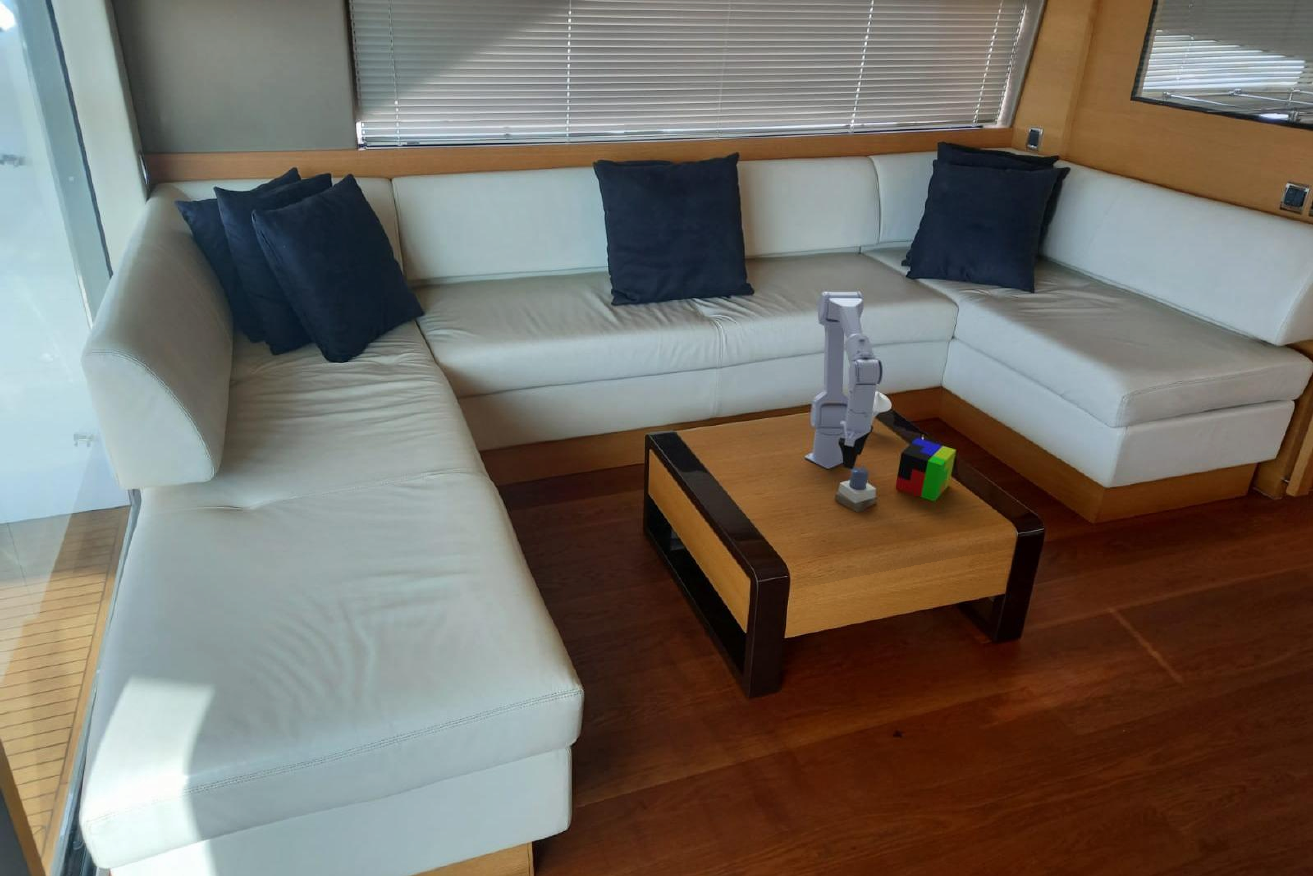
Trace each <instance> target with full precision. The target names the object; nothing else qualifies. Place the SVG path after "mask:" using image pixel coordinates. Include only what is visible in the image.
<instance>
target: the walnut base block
mask: <svg viewBox="0 0 1313 876" xmlns="http://www.w3.org/2000/svg"><path fill="white" fill-rule="evenodd" d="M877 500H878V495H876V494H875V498H872V499H868V500H865V501H862V502H858V503H854V502H852V501H851V500H850V499H848V498H847V497H845V496H844V495H842V494H841V493H839V491H838V492H836V493H835V497H834V501H835V502H837V503H840V504H841V505H842V506H845V507H847V508H849V509H851V510H852V511H855V512H856V513H859V512H862V511H863V510H866V509H867V508H869V507H872V506H874V505H875V504H876V503H877V502H878V501H877Z"/></svg>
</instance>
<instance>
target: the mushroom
mask: <svg viewBox="0 0 1313 876" xmlns="http://www.w3.org/2000/svg"><path fill="white" fill-rule="evenodd" d="M890 409H892V402H891V400H890V399H889V398H888V396H886V395H885V394H883V393H881V392H879V391H877V390H876V392H875V399H874V405H873V412H872V418H871V424H870V425H871V426H872V424H873V421H874V419H875V418H876V417H877V415H878V414H880V413H885V412H889V410H890Z"/></svg>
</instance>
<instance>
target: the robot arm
mask: <svg viewBox="0 0 1313 876" xmlns="http://www.w3.org/2000/svg"><path fill="white" fill-rule="evenodd" d="M862 294H863V293H861V291H858V290H857V291H826V290H825V291H822V293H821V294H820V295H819V298H818V302H817V305H818V307H817V308H818V309H817V311H818V312H817V319H818V324H819V325H821V326H823V327H824V355H823V356H824V362H823V363H824V364H823V365H824V366H823V390H822V392H820V393H818V394H817V395H816V396H814V397H813V398H812V401H811V409H810V414H809V415H810V416H809V417H810V424H811V426H812V428H813V429H815V431H814V439H813V447H812V452H810V453H809V454H807V455H805V456H804V458H805V459H806V460H808V461H811V462H812V463H815V464H817V465H818V466H821V467H823V468H825V469H828V470H829V469H833V468H834V467H836V466H839V465H841V464H843V465H842V466H843V468H846V469H851V470H852V469H853V468H854V467H855V464H856V462H857V459H858V456H861V454H862V452H863V449H864V448H865V444H866V442H867V440H868V438H869V435H870V434H871V433H872V432H873V430H874V426H873V425H872V424H871V418H872V412H873V405H874V399H875V392H876V391H877V386H878V385H880V384H881V383H882V381H883V374H884V371H883V369H884V367H883V363H882V362H883V361H882V360H881V358H880V357H878V356H877V355H874V351H873V347H872V345H871V341H870V339H869V337H868V336H867V335H866V334H863V330H862V326H861V325H862V324H861V317H862V314H863V311H864V307H865V301H864V296H863V295H862ZM845 337H846V340H845ZM844 353H846V355H847V360H848V362H849V366H848V389H849V393H848V395H847V394H846V393H844V392H843V391H844V390H843V389H844V387H843V386H844V362H845V361H844V358H845V357H844ZM870 424H871V425H870Z"/></svg>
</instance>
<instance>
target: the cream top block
mask: <svg viewBox="0 0 1313 876" xmlns="http://www.w3.org/2000/svg"><path fill="white" fill-rule="evenodd" d="M849 482H850V479H848V480H845V481H842V482H840V483H839V487H838V492H839V493H841V494H842V495H844V496H845V497H847V498H848V499H850V500H851V501H852V502H854V503H858V502H862V501H865V500H868V499H872V498H875V495H876V492H877V491H876V490H877V488H876V487H874V486H873V485H872V484H870V483H868V482H867V485H866V488H865V489H864V490H855V489H852V488H851V487H850V486H849Z"/></svg>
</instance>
